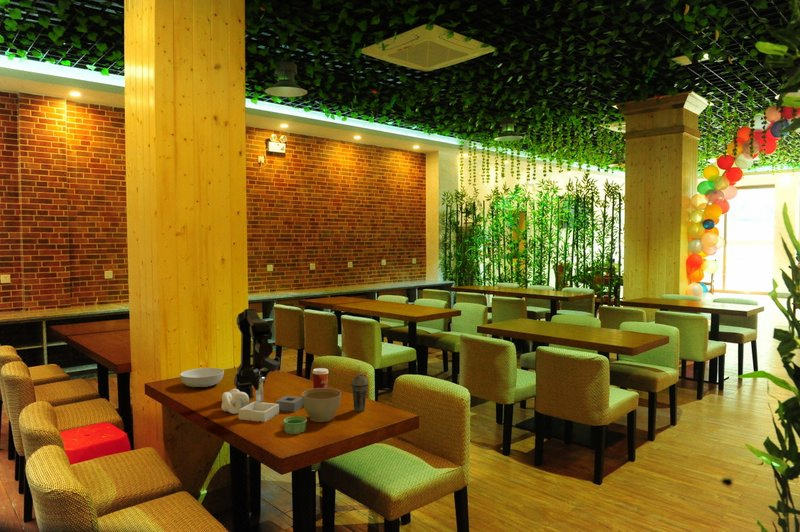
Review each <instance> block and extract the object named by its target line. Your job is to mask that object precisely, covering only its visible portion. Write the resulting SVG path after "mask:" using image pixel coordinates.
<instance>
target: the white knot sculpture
mask: <svg viewBox="0 0 800 532" xmlns="http://www.w3.org/2000/svg"><path fill="white" fill-rule="evenodd" d="M221 401H222V402H221V410H222V411H223V412H228V413H229V414H232V415H237V414H239V409H241V408H243V407H245V406H246V405H248V404H250V399H249V397H248V395H247V394H246V393H244V392H240V391H239V390H238V389H237V388H232V389H230V390H229V391H225V392H223V393H222V395H221Z"/></svg>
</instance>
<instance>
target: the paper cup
mask: <svg viewBox="0 0 800 532" xmlns="http://www.w3.org/2000/svg"><path fill="white" fill-rule="evenodd" d="M311 373H312V383H313V384H312V385H313V389H315V388H328V379H329V378H328V377H329V369H328V368H325V367H319V368H318V367H317V368H314V369H312V372H311Z"/></svg>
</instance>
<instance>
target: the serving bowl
mask: <svg viewBox="0 0 800 532" xmlns="http://www.w3.org/2000/svg"><path fill="white" fill-rule="evenodd" d="M224 374H225V370H224V369H222V368H219V367H218V368H217V367H200V368H193V369H188V370H184V371H182V372H181V373H180V374H179V376H180V377H179V378H180V381H181V382H182V383H183V384H184V385H185V386H187V387H190V388H195V387H205V388H208V386H209V387H211V386H214V385H217V384H218V383H220V382H221V381H222V379H223V377H224Z"/></svg>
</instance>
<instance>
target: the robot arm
mask: <svg viewBox="0 0 800 532" xmlns="http://www.w3.org/2000/svg"><path fill="white" fill-rule="evenodd" d="M235 321H236V326H237V329H238V331H239V332H240V333H241V334H240V364H239V366H238V367H237V369H236V374H235V376H234V379H233V380H234V381H233V385H234V386H235V388H236V389H238V390H239V391H240V392H244V393H246V394H247V395H248V397H249V400H251V399H253V398H254V397H255V396H254V392H253V391H254V390H255V391H256V390H258V387H259V379H260V377H261V376H265V380H264V381H263V388H264V386H265V384H266V381H267V377H268V374H270V373H271V372H275V371H277V370H279V367H280V366H281V365H282V364H281V358H280V357H279V356H276V357H274V358H271V357H270V355H271V354H273V351H274V347H273V345H272V344H271V343H270V342H269V340H272V337H273V332H272V329H271V328H272V327H271V326H270V324H269V322H267V321H266V320H264V319H261V317H260V316H259V314H258V312H257V309H256V308H245V309H243V311H242V312H240V313H238V314H237V317H236V320H235ZM251 362H252V363H251Z"/></svg>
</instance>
